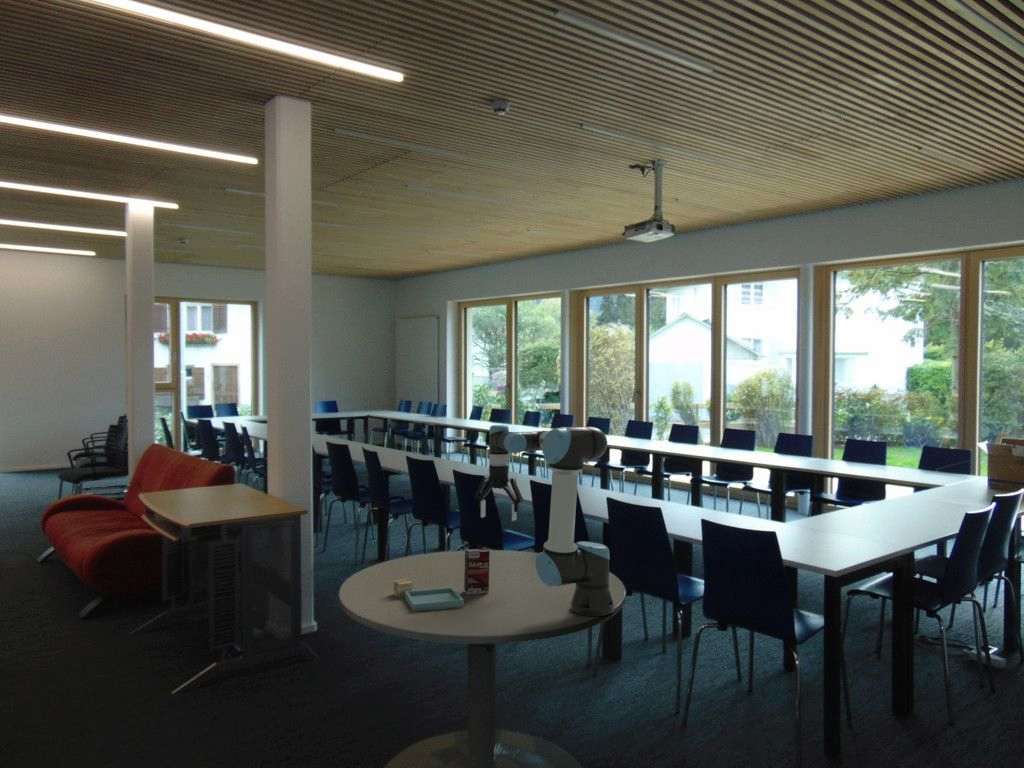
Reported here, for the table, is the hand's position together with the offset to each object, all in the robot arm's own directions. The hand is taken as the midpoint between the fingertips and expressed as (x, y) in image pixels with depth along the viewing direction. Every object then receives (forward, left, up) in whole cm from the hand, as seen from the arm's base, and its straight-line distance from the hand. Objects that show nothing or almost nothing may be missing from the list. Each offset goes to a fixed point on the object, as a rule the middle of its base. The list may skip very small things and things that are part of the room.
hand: (498, 518), depth 294 cm
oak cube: (-6, +39, -25) cm, 46 cm away
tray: (-18, +30, -25) cm, 43 cm away
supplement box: (-11, +12, -25) cm, 30 cm away
